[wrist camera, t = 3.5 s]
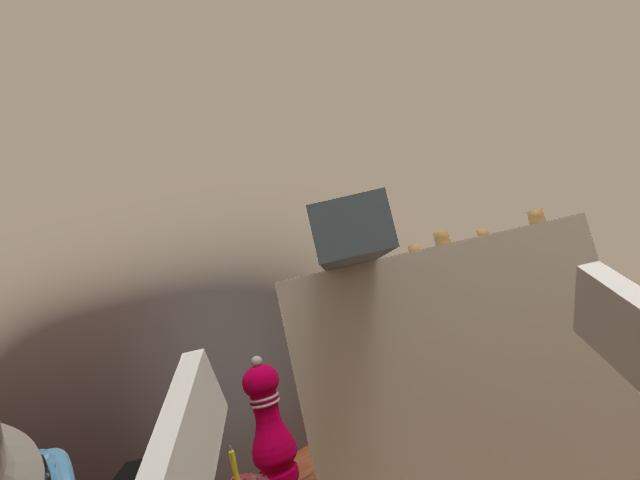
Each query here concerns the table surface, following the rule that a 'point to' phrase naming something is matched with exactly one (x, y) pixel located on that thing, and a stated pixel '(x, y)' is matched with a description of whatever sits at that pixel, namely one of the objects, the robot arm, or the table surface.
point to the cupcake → (244, 478)
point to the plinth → (459, 364)
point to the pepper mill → (269, 424)
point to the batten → (352, 229)
